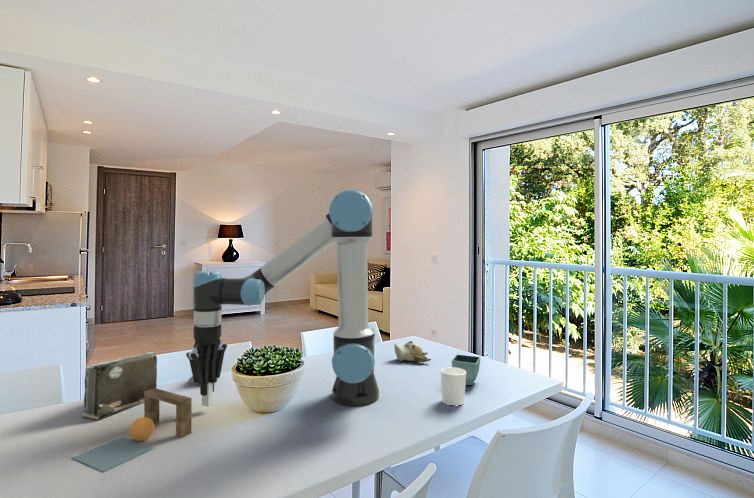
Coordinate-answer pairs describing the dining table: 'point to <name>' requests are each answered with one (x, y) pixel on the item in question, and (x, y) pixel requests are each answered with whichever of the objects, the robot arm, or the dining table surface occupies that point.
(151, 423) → the ball
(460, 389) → the white cup
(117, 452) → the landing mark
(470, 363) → the flower pot
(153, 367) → the radio
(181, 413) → the bridge
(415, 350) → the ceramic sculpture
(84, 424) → the dining table surface
